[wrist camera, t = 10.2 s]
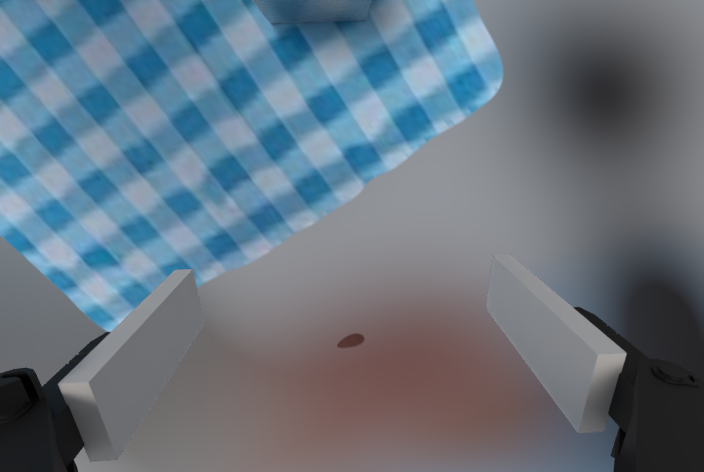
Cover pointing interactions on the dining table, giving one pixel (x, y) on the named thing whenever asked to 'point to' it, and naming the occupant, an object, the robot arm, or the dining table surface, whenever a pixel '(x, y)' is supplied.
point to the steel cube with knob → (313, 10)
